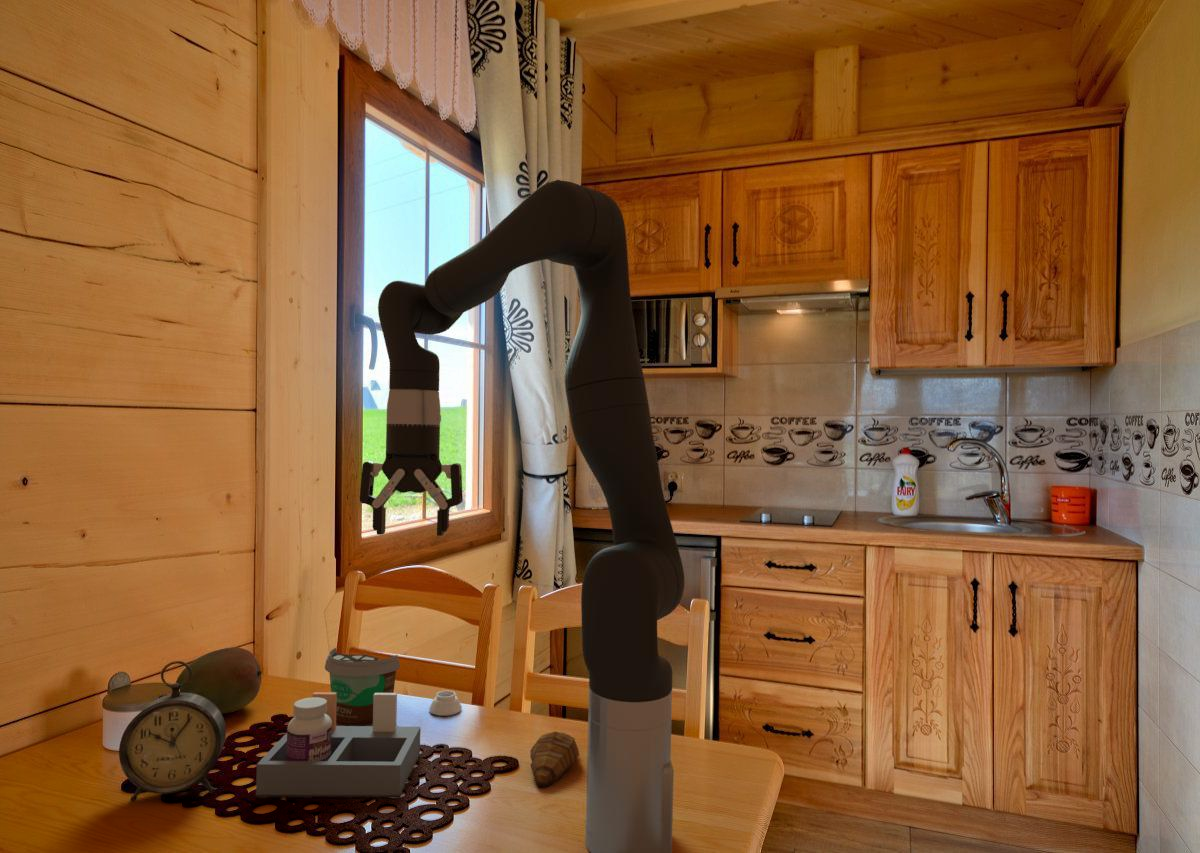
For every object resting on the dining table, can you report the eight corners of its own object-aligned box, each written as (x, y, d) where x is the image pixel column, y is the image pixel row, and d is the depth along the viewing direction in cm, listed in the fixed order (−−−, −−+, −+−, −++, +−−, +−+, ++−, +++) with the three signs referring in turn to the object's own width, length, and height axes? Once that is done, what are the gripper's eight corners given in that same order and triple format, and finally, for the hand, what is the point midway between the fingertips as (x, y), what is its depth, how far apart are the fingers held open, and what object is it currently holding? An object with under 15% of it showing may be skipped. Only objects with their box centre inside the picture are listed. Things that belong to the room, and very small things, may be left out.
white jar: (433, 705, 123) (426, 717, 118) (434, 687, 123) (426, 698, 118) (464, 706, 123) (457, 718, 118) (464, 688, 123) (457, 699, 118)
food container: (306, 723, 114) (307, 657, 114) (331, 709, 120) (333, 646, 120) (376, 734, 111) (377, 666, 111) (398, 719, 117) (400, 655, 117)
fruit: (253, 723, 114) (255, 658, 114) (161, 730, 111) (163, 663, 111) (266, 697, 125) (268, 637, 125) (183, 702, 122) (184, 641, 122)
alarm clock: (116, 808, 88) (119, 670, 88) (131, 787, 93) (134, 656, 93) (218, 798, 91) (221, 664, 91) (227, 778, 96) (231, 651, 96)
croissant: (568, 794, 94) (569, 754, 95) (516, 788, 96) (517, 749, 96) (588, 750, 108) (588, 715, 108) (542, 745, 109) (543, 711, 109)
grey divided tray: (419, 755, 104) (421, 690, 104) (399, 797, 92) (401, 724, 92) (292, 754, 103) (294, 689, 103) (255, 797, 91) (257, 723, 91)
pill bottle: (315, 789, 93) (316, 711, 93) (276, 784, 94) (278, 707, 94) (339, 770, 98) (340, 696, 98) (302, 765, 99) (304, 693, 99)
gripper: (356, 420, 104) (353, 537, 104) (459, 423, 105) (456, 539, 104) (370, 421, 112) (368, 530, 111) (466, 423, 112) (464, 531, 112)
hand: (410, 534), depth 108 cm, fingers open, 8 cm apart
